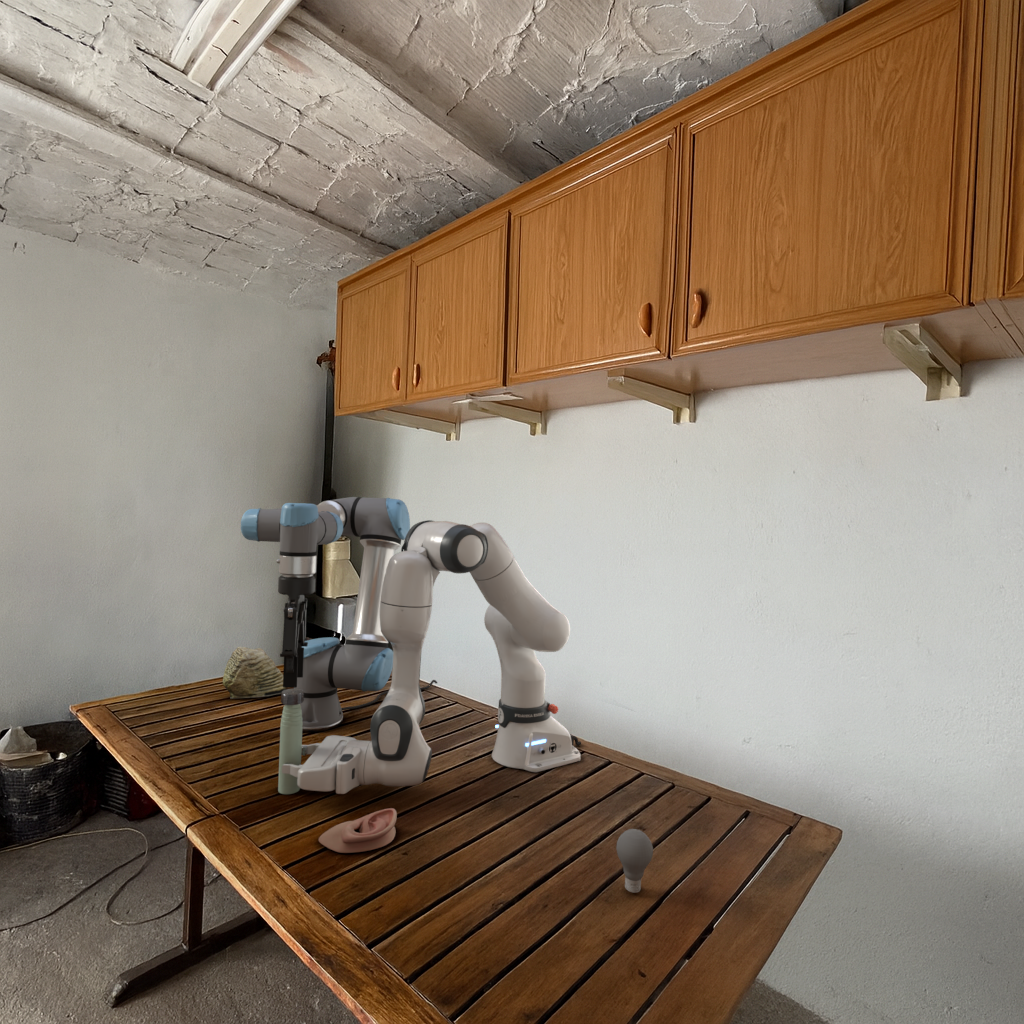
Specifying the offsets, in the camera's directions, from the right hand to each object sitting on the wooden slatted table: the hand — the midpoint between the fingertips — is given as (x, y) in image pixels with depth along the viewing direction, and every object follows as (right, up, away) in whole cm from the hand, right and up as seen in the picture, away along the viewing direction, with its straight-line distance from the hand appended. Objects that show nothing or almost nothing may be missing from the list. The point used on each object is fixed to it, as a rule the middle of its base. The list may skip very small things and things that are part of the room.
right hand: (291, 758), depth 136 cm
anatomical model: (+19, -8, -18) cm, 27 cm away
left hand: (0, +17, 0) cm, 17 cm away
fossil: (-33, -4, +62) cm, 70 cm away
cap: (0, +14, 0) cm, 14 cm away
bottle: (-1, -7, 0) cm, 7 cm away
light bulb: (+68, -10, -30) cm, 75 cm away
